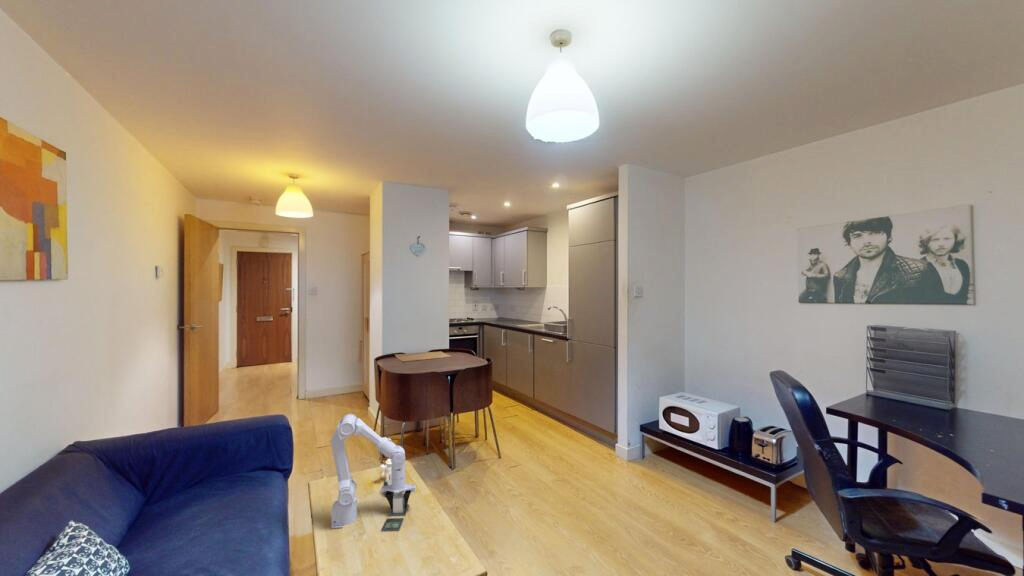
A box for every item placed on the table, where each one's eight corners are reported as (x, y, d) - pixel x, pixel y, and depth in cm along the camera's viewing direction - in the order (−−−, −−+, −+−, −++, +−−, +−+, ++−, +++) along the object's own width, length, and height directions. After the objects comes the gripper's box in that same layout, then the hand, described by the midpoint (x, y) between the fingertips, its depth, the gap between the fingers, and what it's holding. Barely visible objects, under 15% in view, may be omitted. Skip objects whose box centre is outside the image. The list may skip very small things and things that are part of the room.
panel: (378, 535, 157) (378, 530, 157) (391, 508, 175) (391, 504, 174) (401, 534, 157) (401, 529, 157) (411, 508, 175) (411, 503, 175)
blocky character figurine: (397, 477, 203) (396, 453, 202) (399, 480, 199) (399, 456, 199) (379, 482, 197) (378, 458, 197) (381, 485, 194) (381, 461, 194)
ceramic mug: (406, 494, 186) (405, 478, 186) (389, 501, 180) (388, 484, 180) (396, 486, 194) (396, 470, 194) (380, 492, 189) (380, 476, 189)
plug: (393, 514, 169) (392, 497, 168) (395, 508, 173) (395, 491, 172) (402, 513, 169) (402, 496, 169) (404, 508, 173) (404, 491, 173)
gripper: (378, 481, 166) (379, 513, 166) (413, 481, 166) (413, 512, 167) (383, 473, 173) (384, 504, 173) (416, 472, 174) (417, 503, 174)
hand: (399, 507), depth 171 cm, fingers open, 5 cm apart
